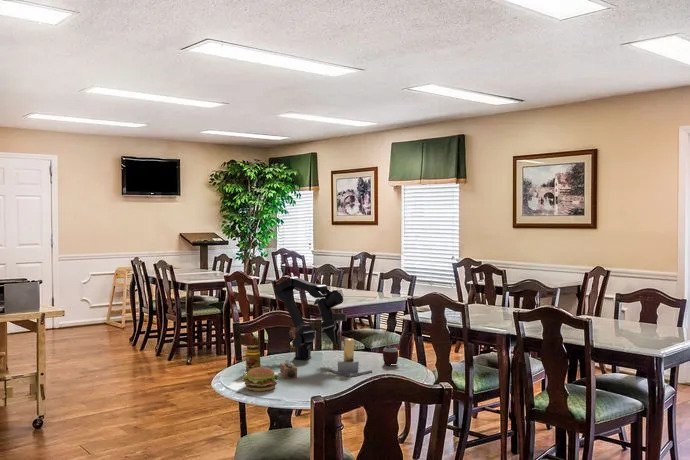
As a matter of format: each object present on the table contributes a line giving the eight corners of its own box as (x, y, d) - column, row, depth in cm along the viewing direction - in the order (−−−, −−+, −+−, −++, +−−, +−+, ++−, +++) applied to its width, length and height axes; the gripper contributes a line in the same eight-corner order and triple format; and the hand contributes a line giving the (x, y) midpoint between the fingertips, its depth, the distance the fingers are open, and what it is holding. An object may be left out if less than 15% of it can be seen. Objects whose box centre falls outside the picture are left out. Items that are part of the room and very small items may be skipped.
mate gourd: (395, 367, 292) (396, 334, 292) (379, 365, 295) (379, 333, 294) (399, 363, 299) (400, 331, 299) (383, 362, 302) (383, 330, 301)
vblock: (328, 371, 284) (328, 359, 284) (350, 366, 293) (350, 355, 293) (350, 377, 274) (350, 365, 274) (372, 372, 282) (372, 360, 282)
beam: (280, 372, 282) (280, 362, 282) (291, 371, 283) (291, 362, 283) (285, 379, 270) (285, 369, 270) (297, 378, 272) (297, 368, 272)
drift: (284, 363, 281) (284, 359, 281) (288, 363, 281) (288, 359, 281) (288, 368, 272) (288, 364, 272) (292, 368, 273) (292, 364, 273)
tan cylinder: (343, 370, 282) (343, 340, 281) (343, 367, 286) (343, 338, 286) (353, 370, 282) (354, 340, 282) (353, 367, 286) (353, 338, 286)
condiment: (246, 376, 275) (246, 348, 275) (243, 371, 283) (243, 344, 283) (263, 375, 277) (263, 347, 277) (259, 370, 285) (260, 343, 285)
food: (234, 388, 257) (234, 368, 256) (263, 381, 266) (263, 362, 266) (255, 395, 247) (255, 374, 247) (284, 388, 257) (284, 368, 256)
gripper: (339, 302, 288) (350, 336, 284) (345, 307, 306) (355, 339, 302) (316, 310, 288) (326, 344, 284) (323, 315, 306) (332, 347, 302)
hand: (336, 343), depth 293 cm, fingers open, 9 cm apart
